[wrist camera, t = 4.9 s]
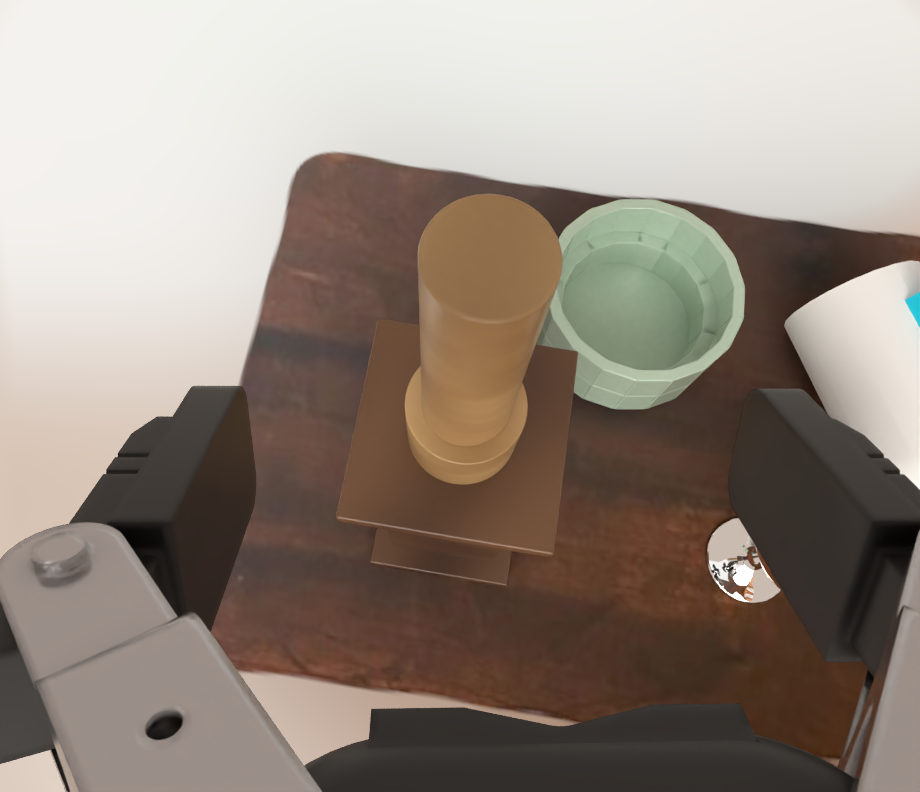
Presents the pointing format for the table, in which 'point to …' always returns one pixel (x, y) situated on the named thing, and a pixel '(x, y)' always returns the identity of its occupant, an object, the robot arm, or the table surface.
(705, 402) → the table surface
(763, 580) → the wineglass
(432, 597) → the table surface
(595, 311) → the bowl
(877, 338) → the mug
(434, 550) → the stand
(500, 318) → the muddler
